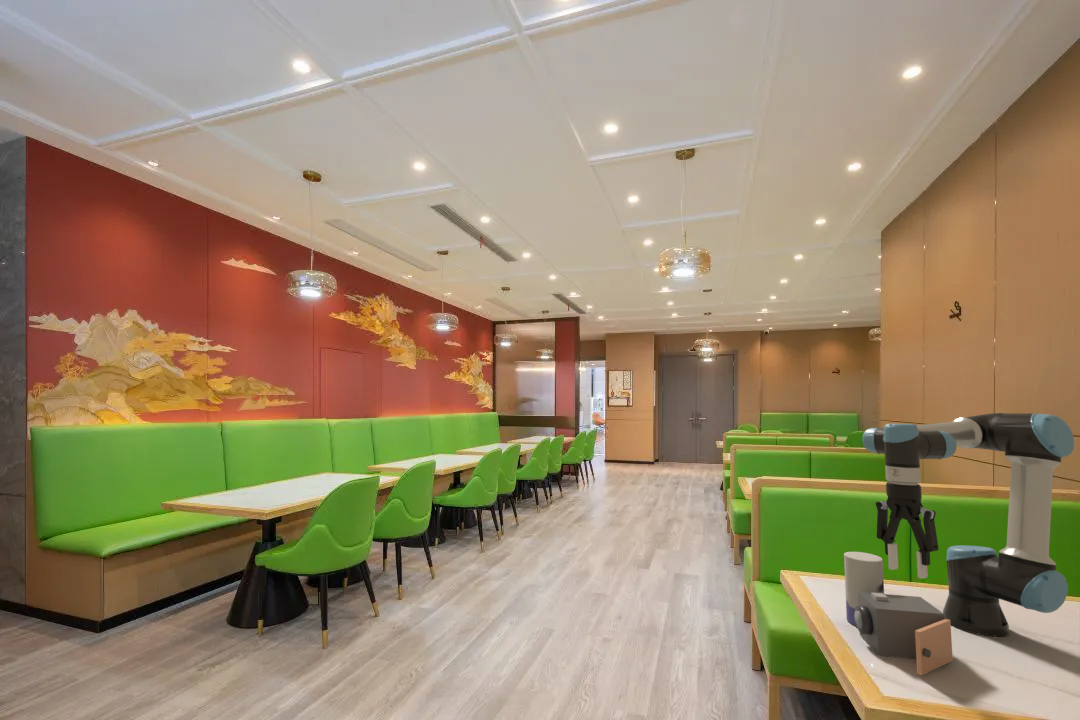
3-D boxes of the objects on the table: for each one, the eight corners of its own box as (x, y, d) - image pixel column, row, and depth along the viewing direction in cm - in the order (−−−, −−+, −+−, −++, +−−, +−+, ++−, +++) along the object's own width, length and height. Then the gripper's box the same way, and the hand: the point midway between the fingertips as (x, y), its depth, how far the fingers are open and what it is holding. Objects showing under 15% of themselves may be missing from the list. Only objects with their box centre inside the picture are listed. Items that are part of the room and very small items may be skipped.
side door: (948, 658, 130) (945, 618, 131) (957, 662, 129) (954, 621, 129) (917, 673, 123) (914, 630, 124) (926, 677, 122) (924, 633, 122)
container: (892, 632, 148) (888, 562, 149) (854, 629, 150) (851, 559, 151) (876, 618, 157) (873, 552, 159) (841, 615, 159) (838, 550, 161)
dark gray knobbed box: (922, 640, 142) (920, 593, 143) (947, 662, 131) (944, 610, 132) (850, 634, 146) (848, 587, 147) (867, 654, 134) (865, 603, 136)
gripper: (857, 478, 140) (861, 563, 138) (935, 489, 122) (940, 587, 120) (875, 476, 143) (879, 560, 141) (953, 487, 125) (959, 583, 123)
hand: (907, 572), depth 131 cm, fingers open, 6 cm apart
